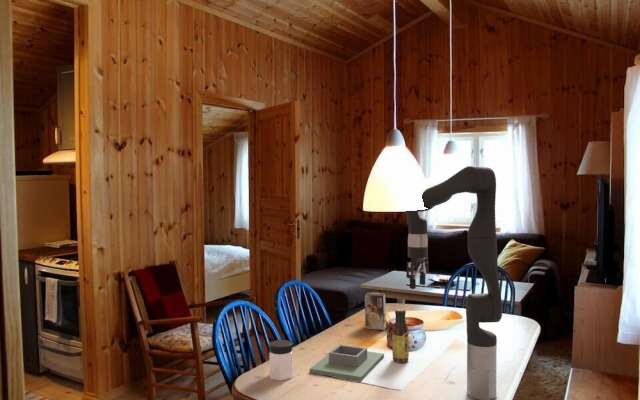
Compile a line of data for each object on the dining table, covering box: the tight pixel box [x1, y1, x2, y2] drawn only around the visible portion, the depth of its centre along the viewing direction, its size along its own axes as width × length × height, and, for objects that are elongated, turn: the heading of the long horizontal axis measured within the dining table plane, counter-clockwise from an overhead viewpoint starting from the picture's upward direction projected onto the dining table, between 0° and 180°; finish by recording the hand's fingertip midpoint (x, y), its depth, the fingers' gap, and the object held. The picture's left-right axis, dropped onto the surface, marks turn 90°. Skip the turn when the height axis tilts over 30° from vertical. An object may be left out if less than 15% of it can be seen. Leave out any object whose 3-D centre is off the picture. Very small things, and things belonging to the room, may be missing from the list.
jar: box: [268, 339, 293, 382], centre depth 191 cm, size 9×8×12 cm
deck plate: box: [309, 344, 385, 382], centre depth 201 cm, size 26×20×6 cm
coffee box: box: [364, 291, 387, 331], centre depth 249 cm, size 9×6×16 cm
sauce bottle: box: [391, 308, 410, 364], centre depth 205 cm, size 7×6×20 cm
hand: (417, 286), depth 206 cm, fingers open, 8 cm apart
